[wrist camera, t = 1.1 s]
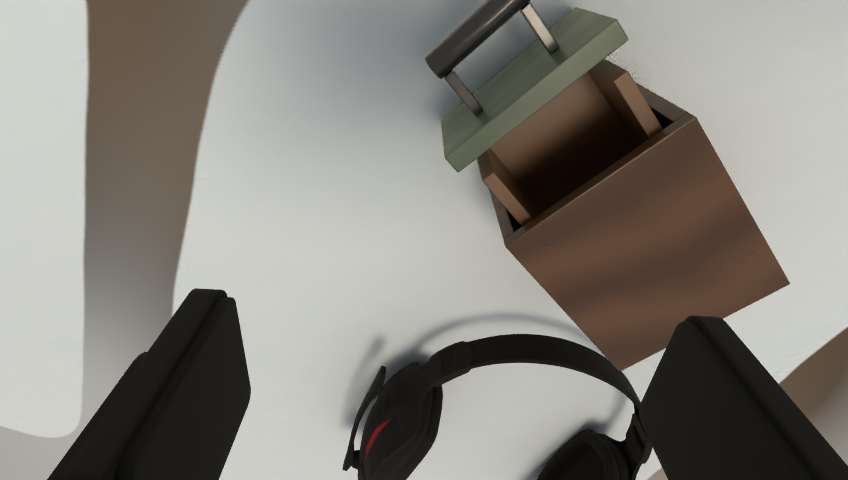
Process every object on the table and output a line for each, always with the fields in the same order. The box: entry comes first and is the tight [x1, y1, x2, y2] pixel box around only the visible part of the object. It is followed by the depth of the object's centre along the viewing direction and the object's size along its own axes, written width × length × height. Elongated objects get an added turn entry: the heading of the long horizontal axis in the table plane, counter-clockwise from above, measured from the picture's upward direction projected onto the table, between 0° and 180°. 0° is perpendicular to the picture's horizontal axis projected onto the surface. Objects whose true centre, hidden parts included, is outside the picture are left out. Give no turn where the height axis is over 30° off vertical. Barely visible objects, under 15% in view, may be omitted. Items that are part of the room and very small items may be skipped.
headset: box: [343, 334, 652, 480], centre depth 43 cm, size 28×26×9 cm
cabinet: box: [489, 82, 790, 371], centre depth 31 cm, size 14×12×9 cm
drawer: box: [425, 0, 663, 226], centre depth 28 cm, size 17×10×7 cm, turn 41°
